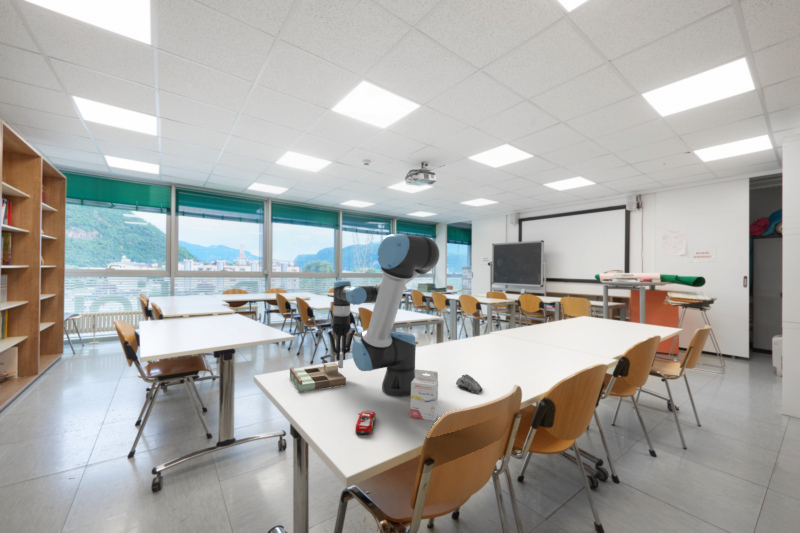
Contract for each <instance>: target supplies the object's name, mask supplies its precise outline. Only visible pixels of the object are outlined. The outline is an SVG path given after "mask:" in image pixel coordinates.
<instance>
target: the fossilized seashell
mask: <svg viewBox="0 0 800 533" xmlns="http://www.w3.org/2000/svg"><path fill="white" fill-rule="evenodd" d="M455 384H456V386H458V387H461V388H463V389H468V390H469V391H470V392H471V393H472V394H479V393H480V392H481V391H482V390H483V387H482V386H481V385H480V383H479V382H478V381H477V380H476V379H475V378H474V377H472V376H471V375H469V374H467V373H466V374H462V375H461V377H459V378H458V379H457V380H456V382H455Z"/></svg>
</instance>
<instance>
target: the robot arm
mask: <svg viewBox="0 0 800 533" xmlns="http://www.w3.org/2000/svg"><path fill="white" fill-rule="evenodd" d="M440 255H441V254H440V249H439V247H438V245H437V242H435V240H433V239H432V238H430V237H427V236H422V235H420V236H419V235H409V234H405V233H404V234H403V233H392V234H388V235H386V236H385V237H384V238H383V239H382V240H381V242H380V244H379V245H378V250H377V256H378V257H377V261H378V264H379V265H380V270H381V272H382V273H383V274H382V277H381V280H380V281H379V282H378V283H377V284H375V285H351V284H352V283H351V282H350V280H335V281H334V282H333V290H332V291H333V308H332V309H333V310H332V313H333V316H332V326H331V329H329V330H327V331H326V334H327V335H328V338H329V343H330V347H331V351H332V352H333V353H335V360H336V361H337V365H338V369H343V368H344V361H345V360H346V353H347V352H349V351H350V350H351V354H352V355H351V356H352V360H353V362H354V364H355V366H356V368H357V369H358V370H360V371H362V372H372V371H375V370H379V369H384V368H386V370H385V375H384V378H383V380H382V384H381V390H382V392H383V393H384V394H387V395H389V396H394V397H408V396H410V397H411V382H412V381H413V379H414V378H415V370H416V346H417V344H416V336H415V335H413V334H412V333H408V332H402V331H392V329H393V327H394V324H395V320H396V317H397V314H398V310H399V308H400V303H401V301H402V298H403V294H404V291H405V287H406V286H407V284H409V283H410V282H411V281H413V280H414V279H416V278H417V277H418V276H420V275H425V274H427V273H429V272H430V271H431V270H433V269H434V268H435V267H436V265H437V264H438V263H439V259H440ZM362 304H374V306H373V310H372V313H371V317H370V321H369V323H368V328H366V329H364V330H363V332H361V333H362V334H361V338H360V339H356V340H354V341H353V338H354V335H355V333H356V329H354V328H352V327H351V315H350V314H351V305H354V306H355V305H356V306H357V305H362ZM334 335H335V338H334ZM347 335H348V336H347ZM347 337H348V338H347ZM335 340H336V342H335Z"/></svg>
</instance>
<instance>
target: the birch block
mask: <svg viewBox="0 0 800 533" xmlns="http://www.w3.org/2000/svg"><path fill="white" fill-rule="evenodd" d="M323 367H324V370H323V372H324V373H325V374H326V375H329V374H336V373H338V372H339V367H338V363H336V362H327V363H323Z"/></svg>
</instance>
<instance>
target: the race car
mask: <svg viewBox="0 0 800 533" xmlns="http://www.w3.org/2000/svg"><path fill="white" fill-rule="evenodd" d="M357 415H358V418H357V421H356V424H355V431H354V432H355V433H356V434H358V435H360V434H361V435H370V434H372V433H373V430H374V427H375V422H376V418H377V417H376V415H377V413H376V412H375V411H373V410H362V411H361V412H360V413H358V414H357Z"/></svg>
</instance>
